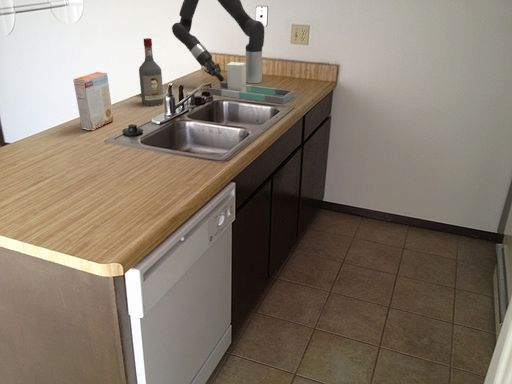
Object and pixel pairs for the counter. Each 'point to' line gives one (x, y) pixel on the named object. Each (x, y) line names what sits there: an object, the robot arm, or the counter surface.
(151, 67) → the liquor
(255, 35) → the robot arm
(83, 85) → the cracker box
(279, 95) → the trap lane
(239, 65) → the skincare box
